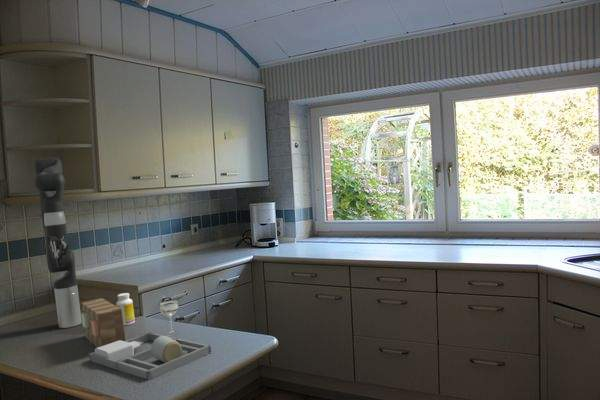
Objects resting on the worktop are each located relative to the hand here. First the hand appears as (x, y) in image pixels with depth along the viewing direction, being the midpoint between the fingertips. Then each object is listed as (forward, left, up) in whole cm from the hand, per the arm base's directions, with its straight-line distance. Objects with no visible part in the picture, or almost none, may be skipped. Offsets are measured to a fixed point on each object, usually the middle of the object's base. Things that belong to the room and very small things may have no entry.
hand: (60, 266), depth 201 cm
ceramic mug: (+62, +4, -29) cm, 69 cm away
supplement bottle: (+6, +22, -29) cm, 37 cm away
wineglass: (+38, +22, -29) cm, 53 cm away
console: (+20, +4, -29) cm, 35 cm away
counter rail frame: (+53, +2, -29) cm, 60 cm away
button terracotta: (+27, -1, -23) cm, 36 cm away
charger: (+42, -2, -30) cm, 51 cm away
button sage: (+12, +4, -24) cm, 26 cm away
